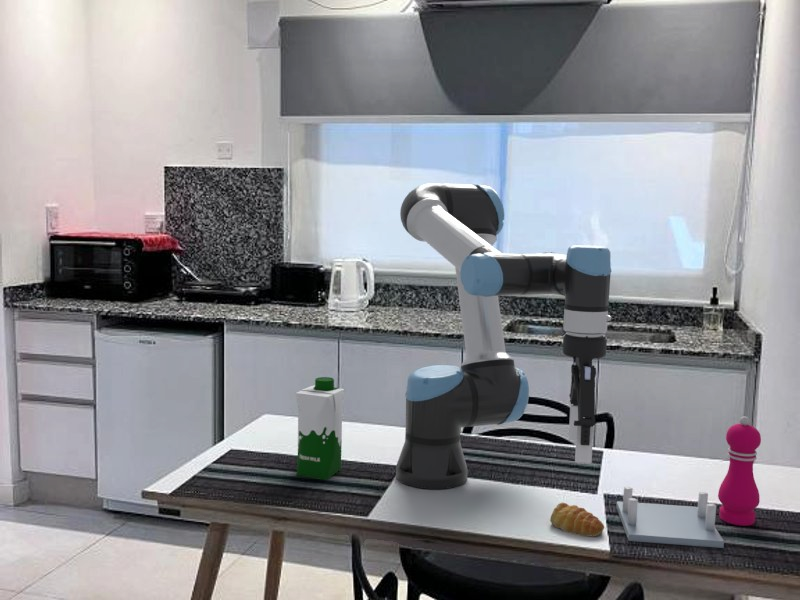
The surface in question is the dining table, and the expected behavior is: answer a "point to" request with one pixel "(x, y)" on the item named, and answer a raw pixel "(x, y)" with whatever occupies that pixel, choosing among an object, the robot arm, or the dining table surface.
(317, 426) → the milk carton
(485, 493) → the dining table surface
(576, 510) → the pastry
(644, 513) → the tray
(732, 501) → the pepper mill
